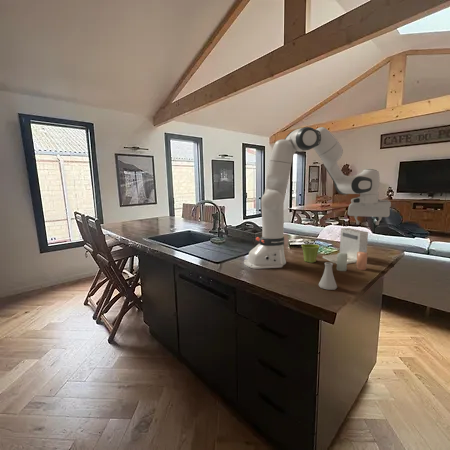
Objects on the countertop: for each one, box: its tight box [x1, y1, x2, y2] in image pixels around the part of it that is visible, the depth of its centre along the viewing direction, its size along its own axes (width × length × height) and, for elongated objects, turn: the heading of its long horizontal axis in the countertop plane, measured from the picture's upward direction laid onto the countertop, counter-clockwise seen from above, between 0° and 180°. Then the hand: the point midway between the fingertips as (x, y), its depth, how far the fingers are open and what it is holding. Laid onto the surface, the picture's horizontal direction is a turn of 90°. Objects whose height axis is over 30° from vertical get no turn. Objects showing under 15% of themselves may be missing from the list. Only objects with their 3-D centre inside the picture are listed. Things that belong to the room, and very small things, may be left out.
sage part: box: [336, 252, 348, 272], centre depth 124 cm, size 4×4×8 cm
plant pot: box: [301, 243, 320, 264], centre depth 139 cm, size 9×9×9 cm
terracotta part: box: [355, 252, 368, 271], centre depth 125 cm, size 4×4×8 cm
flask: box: [318, 261, 338, 291], centre depth 104 cm, size 7×7×10 cm
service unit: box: [322, 227, 369, 265], centre depth 140 cm, size 18×14×16 cm
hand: (367, 224), depth 142 cm, fingers open, 8 cm apart
